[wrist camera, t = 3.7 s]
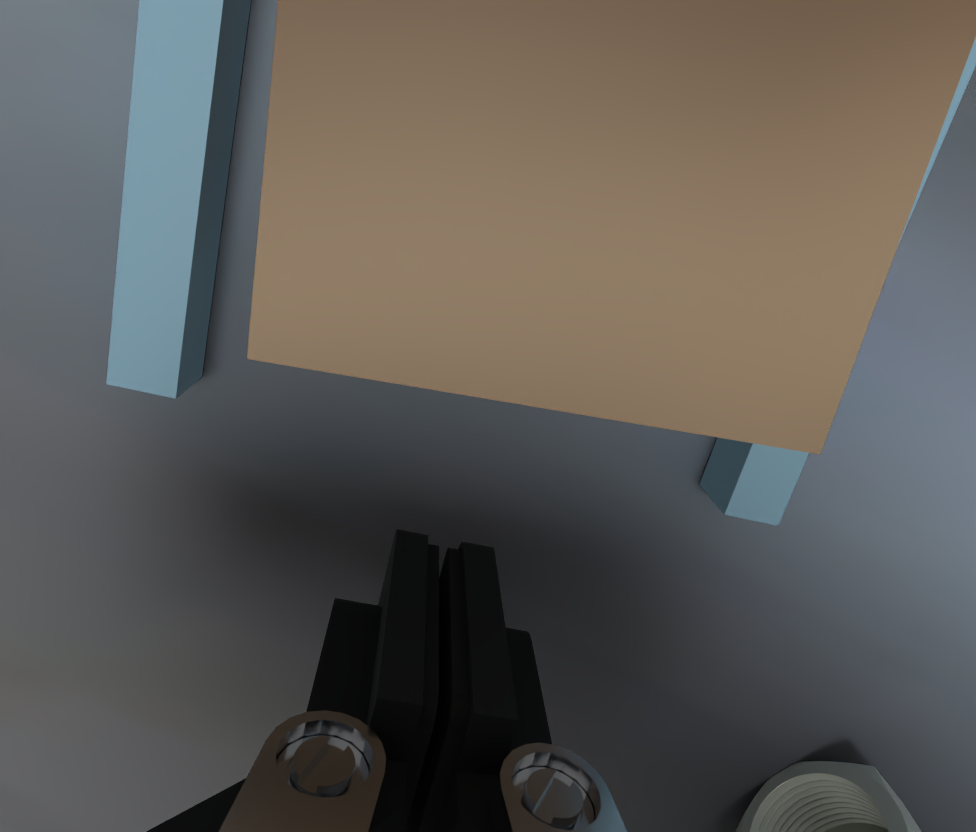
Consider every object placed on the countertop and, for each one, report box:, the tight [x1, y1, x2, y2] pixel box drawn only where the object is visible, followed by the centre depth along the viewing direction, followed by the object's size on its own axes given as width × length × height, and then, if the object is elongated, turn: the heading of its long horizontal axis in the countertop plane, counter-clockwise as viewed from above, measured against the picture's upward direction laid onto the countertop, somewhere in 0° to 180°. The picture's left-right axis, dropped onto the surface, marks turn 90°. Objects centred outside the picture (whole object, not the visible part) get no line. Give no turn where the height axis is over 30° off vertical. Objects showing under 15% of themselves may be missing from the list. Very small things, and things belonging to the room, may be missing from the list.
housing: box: [247, 0, 976, 454], centre depth 8 cm, size 8×6×6 cm
